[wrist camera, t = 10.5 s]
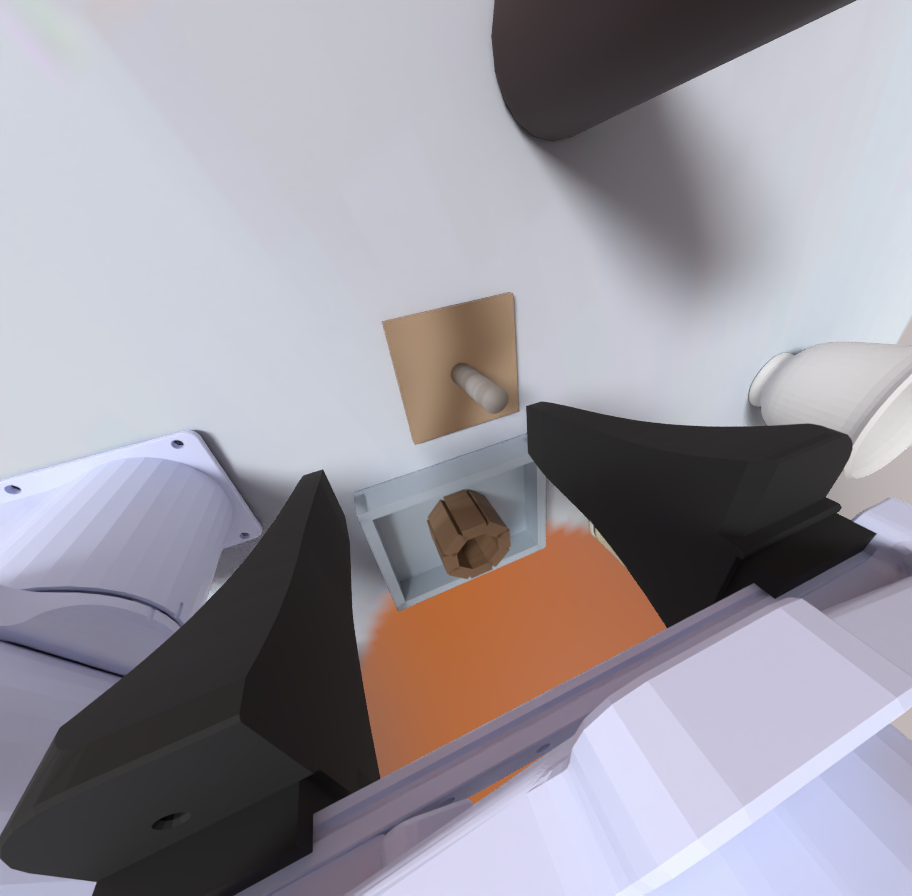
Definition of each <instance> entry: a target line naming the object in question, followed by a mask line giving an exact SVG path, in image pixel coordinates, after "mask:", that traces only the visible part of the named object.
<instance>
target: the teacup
mask: <svg viewBox="0 0 912 896" xmlns="http://www.w3.org/2000/svg"><path fill="white" fill-rule="evenodd" d="M749 401H750V403H751V404H752V405H753V406H759V407H761V413H762V417H763V420H764V421H765V423H766V424H767V425H768V426H772V425H789V424H806V423H809V424H816V425H821V426H824V427H827V428H830V429H833V430H836V431H839V432H842V433H845V434H848V435H849V437H850V438H851V440H852V442H853V450H852V452H851V455H850V458H849V460H848V462H847V464H846V465H845V467H844V469H843V472H844V474H845V476H846V477H847V478H849V479H854V478H862V477H865V476H867V475H870V474H872V473H873V472H875V471H877V470H879V469H880V468H882V467H883V466H885V465H886V464H887V463H889V462H890V461H892V460H893V459H894V458H895V457H897V456H898V455H899V454H900V453H901V452H903V451H904V450H905V449H906V448H909V447H911V446H912V346H911V345H895V344H879V343H863V342H830V343H823V344H818V345H815V346H812V347H809V348H807V349H805V350H803V351H802V352H800V353H798V354H797V355H793V354H791V353H781V354H779V355H777V356H775V357H774V358H772V359H771V360H770V361H769V362H768V363H767V364H765V366H764V367H763V368H762V369H761V370H760V372H759V373H758V374H757V376H756V377H755V379H754V381H753V383H752V385H751V388H750V391H749Z"/></svg>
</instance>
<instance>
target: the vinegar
mask: <svg viewBox="0 0 912 896" xmlns="http://www.w3.org/2000/svg"><path fill="white" fill-rule="evenodd" d="M854 1H856V0H495V3H494V14H493V25H492V36H491V37H492V47H493V57H494V67H495V73H496V76H497V79H498V83H499V86H500V89H501V92H502V95H503V99H504V101H505V103H506V105H507V106H508V108H509V109H510V111H511V113H512V114H513V116H514V118H515V119H516V121H517V123H519V124H520V125H521V126H522V127H523V128H525V129H526V130H527V131H528V132H529V133H531V134H532V135H533V136H535V137H539V138H543V139H547V140H550V141H555V140H560V139H564V138H569V137H572V136H574V135H576V134H578V133H580V132H582V131H585V130H587V129H589V128H591V127H593V126H595V125H597V124H599V123H601V122H603V121H605V120H608V119H610V118H612V117H614V116H616V115H618V114H620V113H622V112H624V111H626V110H628V109H631V108H633V107H635V106H637V105H639V104H641V103H643V102H645V101H647V100H649V99H651V98H654V97H656V96H658V95H660V94H662V93H664V92H666V91H668V90H670V89H672V88H674V87H676V86H679V85H681V84H683V83H685V82H687V81H689V80H691V79H693V78H695V77H697V76H699V75H702V74H704V73H706V72H708V71H710V70H712V69H714V68H716V67H718V66H720V65H722V64H725V63H727V62H729V61H731V60H733V59H735V58H737V57H739V56H741V55H743V54H745V53H748V52H750V51H752V50H754V49H756V48H758V47H760V46H762V45H764V44H766V43H768V42H771V41H773V40H775V39H777V38H779V37H781V36H783V35H785V34H787V33H789V32H791V31H793V30H796V29H798V28H800V27H802V26H804V25H806V24H808V23H810V22H812V21H814V20H816V19H819V18H821V17H823V16H825V15H827V14H829V13H831V12H833V11H835V10H837V9H839V8H842V7H844V6H846V5H848V4H850V3H852V2H854Z"/></svg>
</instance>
